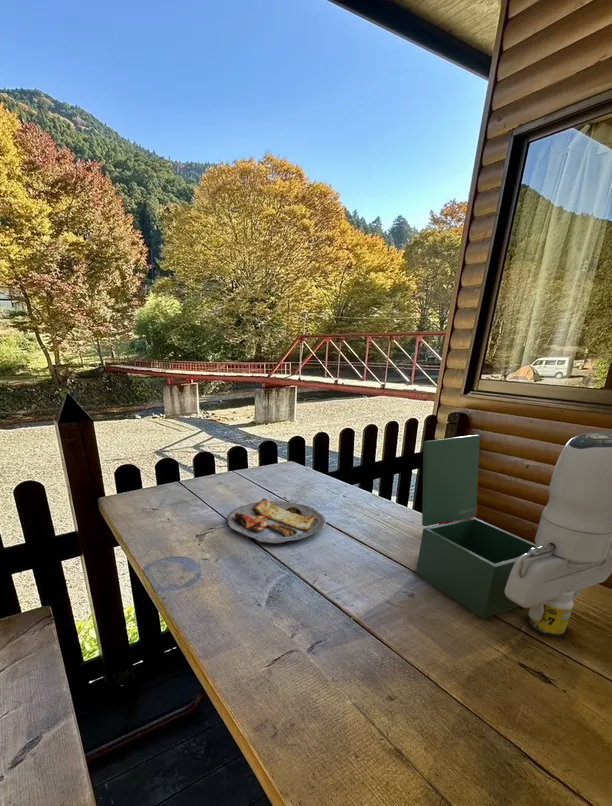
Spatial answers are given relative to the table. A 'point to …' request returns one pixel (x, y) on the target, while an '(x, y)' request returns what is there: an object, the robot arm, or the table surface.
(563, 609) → the supplement bottle
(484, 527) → the chest
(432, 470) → the lid
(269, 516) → the food plate
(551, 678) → the table surface
